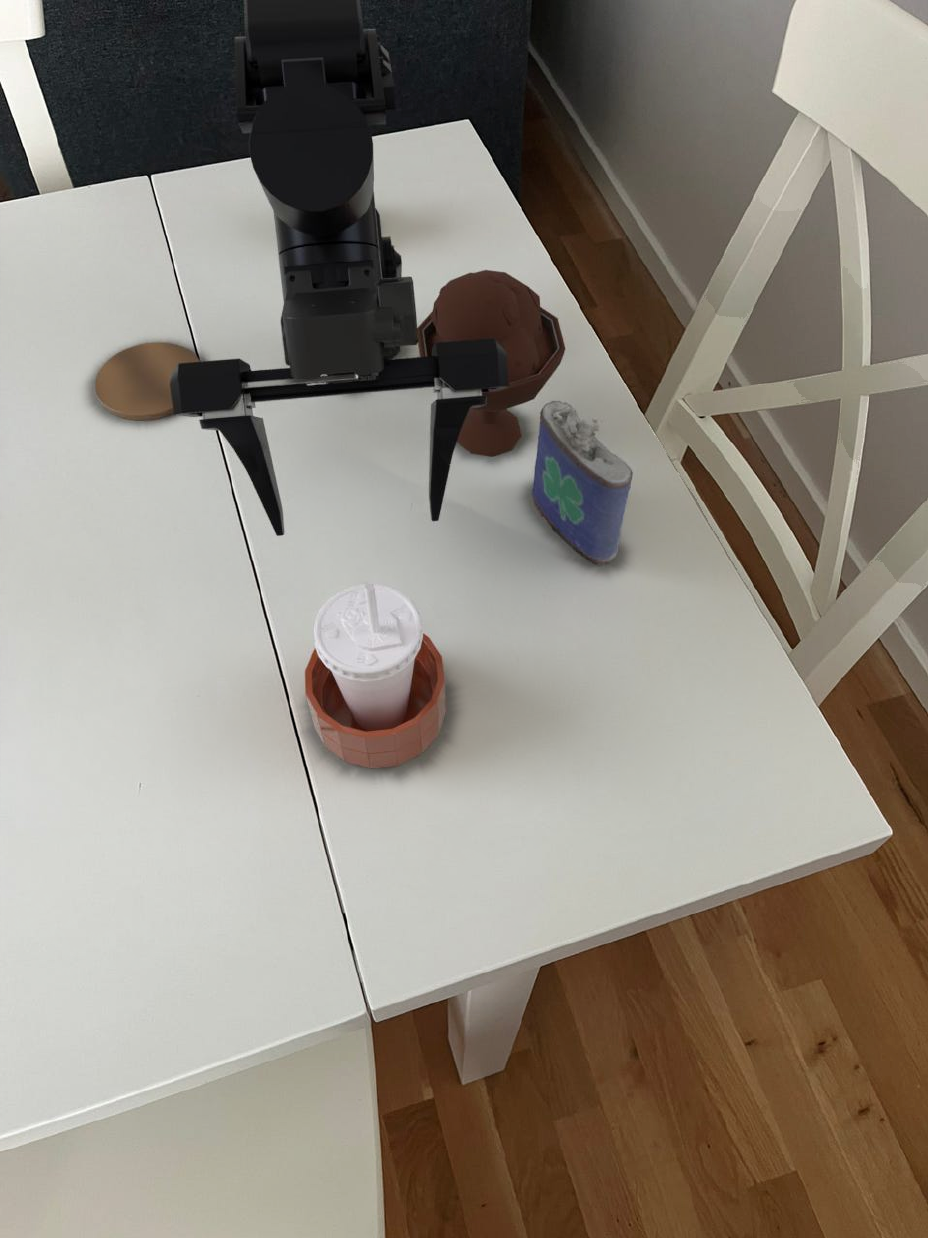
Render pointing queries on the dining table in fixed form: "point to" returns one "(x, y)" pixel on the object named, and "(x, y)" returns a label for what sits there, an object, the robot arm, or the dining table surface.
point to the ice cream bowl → (515, 322)
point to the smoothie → (370, 651)
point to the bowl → (382, 744)
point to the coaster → (141, 380)
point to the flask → (579, 484)
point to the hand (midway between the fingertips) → (358, 527)
